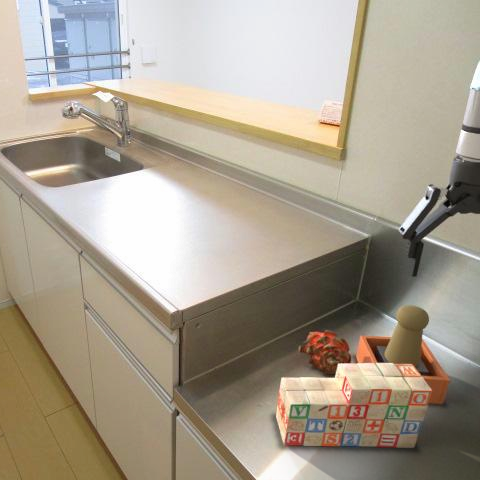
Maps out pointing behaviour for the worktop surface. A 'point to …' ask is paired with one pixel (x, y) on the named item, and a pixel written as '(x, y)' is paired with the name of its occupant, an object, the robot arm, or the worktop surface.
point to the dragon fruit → (326, 351)
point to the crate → (436, 374)
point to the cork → (407, 336)
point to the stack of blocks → (354, 407)
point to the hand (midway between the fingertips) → (451, 274)
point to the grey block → (381, 359)
